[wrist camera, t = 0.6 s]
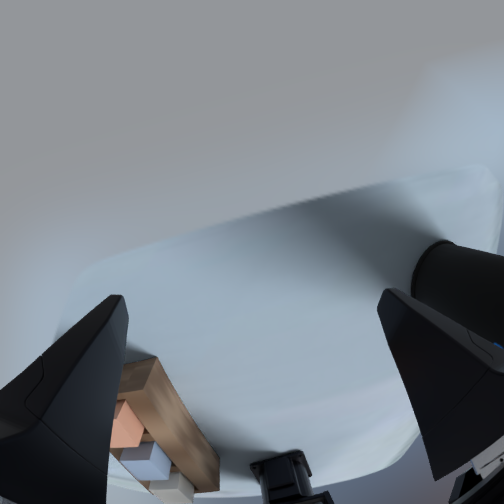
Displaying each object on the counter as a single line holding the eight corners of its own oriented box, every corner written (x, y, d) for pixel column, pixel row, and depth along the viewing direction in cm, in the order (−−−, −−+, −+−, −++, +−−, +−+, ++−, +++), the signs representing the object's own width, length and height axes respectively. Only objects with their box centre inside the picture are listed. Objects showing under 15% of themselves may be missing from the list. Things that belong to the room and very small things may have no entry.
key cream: (195, 476, 21) (193, 503, 18) (169, 478, 21) (165, 503, 18) (181, 461, 21) (177, 489, 17) (154, 463, 21) (148, 489, 17)
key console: (219, 458, 25) (219, 490, 20) (159, 465, 25) (153, 494, 20) (157, 356, 22) (143, 389, 17) (90, 371, 22) (69, 399, 17)
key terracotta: (147, 417, 20) (138, 446, 16) (119, 420, 20) (107, 447, 16) (130, 390, 19) (116, 419, 15) (101, 394, 19) (86, 420, 15)
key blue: (173, 451, 21) (168, 479, 17) (145, 453, 20) (138, 480, 17) (157, 430, 20) (149, 460, 16) (129, 433, 20) (119, 460, 16)
